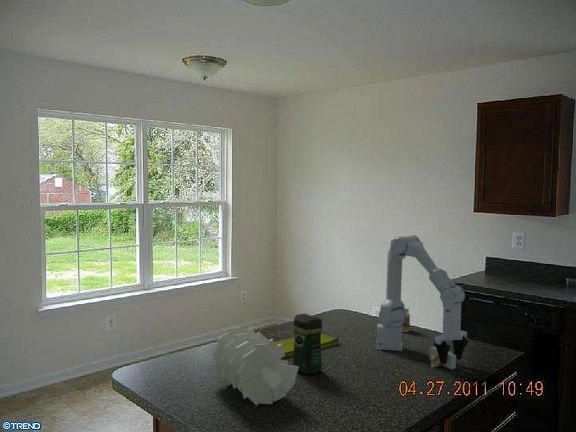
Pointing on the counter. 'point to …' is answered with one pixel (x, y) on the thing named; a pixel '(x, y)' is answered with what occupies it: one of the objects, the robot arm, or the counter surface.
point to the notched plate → (450, 359)
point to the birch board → (436, 360)
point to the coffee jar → (307, 343)
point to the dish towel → (289, 343)
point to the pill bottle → (406, 321)
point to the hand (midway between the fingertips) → (450, 361)
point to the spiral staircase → (254, 365)
